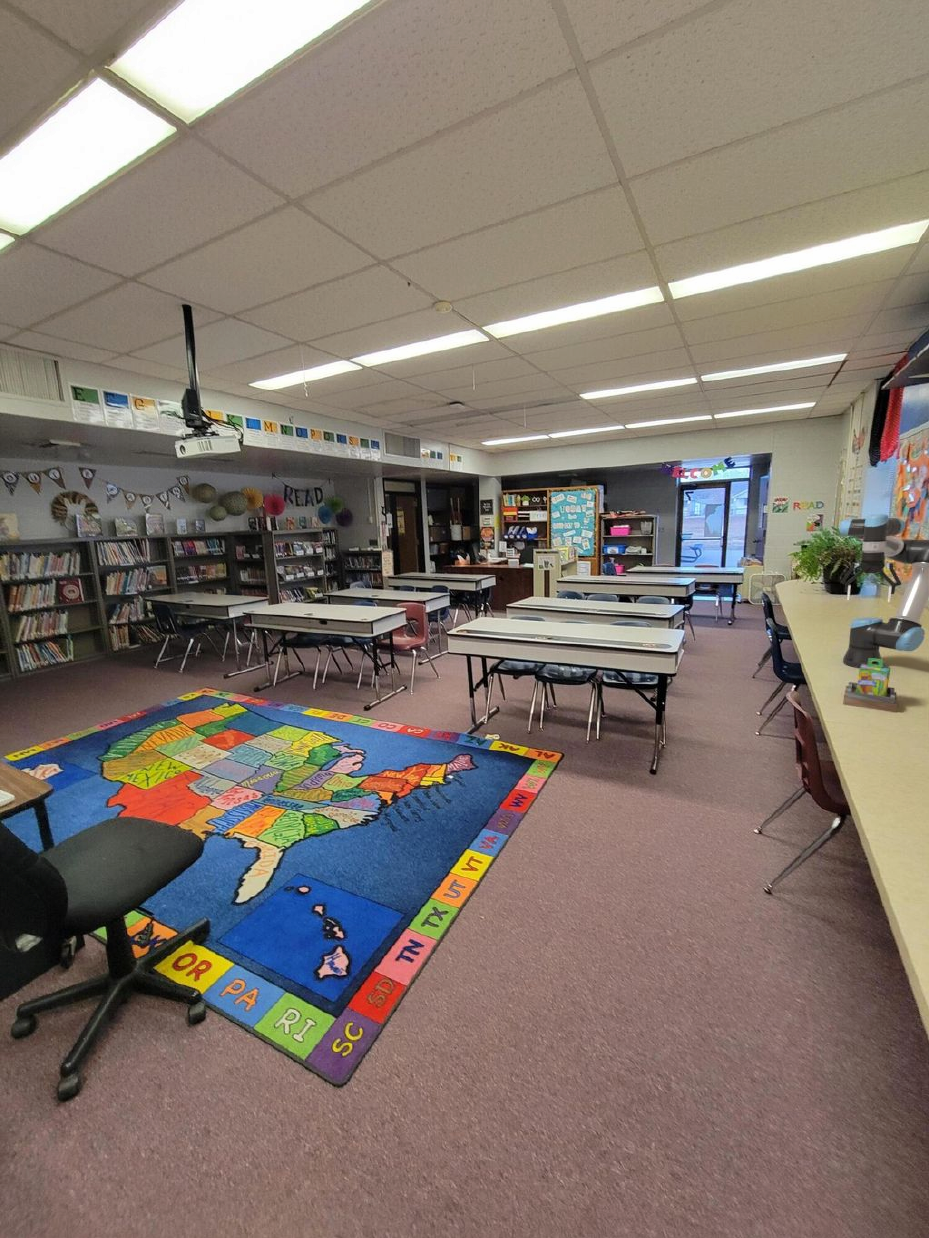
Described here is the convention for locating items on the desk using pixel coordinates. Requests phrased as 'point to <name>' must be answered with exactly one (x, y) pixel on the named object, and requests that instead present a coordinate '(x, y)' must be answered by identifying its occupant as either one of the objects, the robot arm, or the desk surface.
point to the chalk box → (873, 678)
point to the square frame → (870, 699)
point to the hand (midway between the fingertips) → (868, 600)
